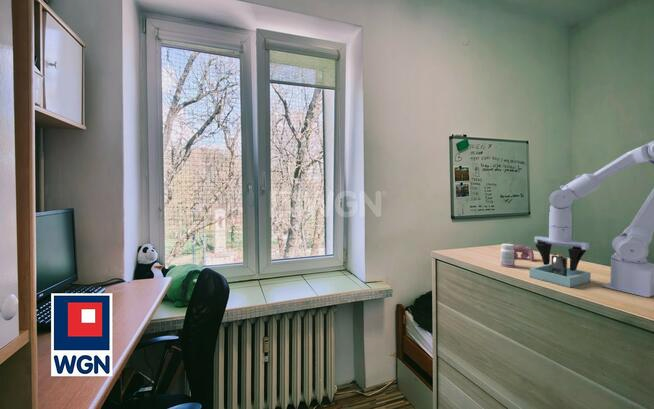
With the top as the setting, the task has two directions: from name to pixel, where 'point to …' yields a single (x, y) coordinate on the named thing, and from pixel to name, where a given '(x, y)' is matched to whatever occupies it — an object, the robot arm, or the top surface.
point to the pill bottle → (507, 255)
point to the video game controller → (524, 252)
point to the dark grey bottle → (559, 265)
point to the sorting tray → (560, 276)
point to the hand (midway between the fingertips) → (559, 267)
